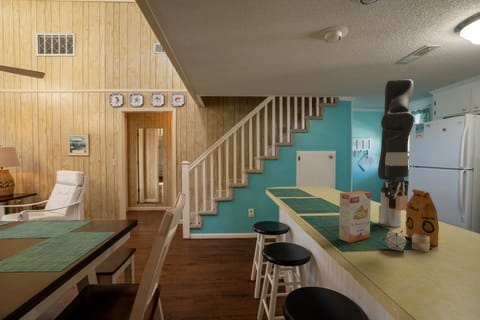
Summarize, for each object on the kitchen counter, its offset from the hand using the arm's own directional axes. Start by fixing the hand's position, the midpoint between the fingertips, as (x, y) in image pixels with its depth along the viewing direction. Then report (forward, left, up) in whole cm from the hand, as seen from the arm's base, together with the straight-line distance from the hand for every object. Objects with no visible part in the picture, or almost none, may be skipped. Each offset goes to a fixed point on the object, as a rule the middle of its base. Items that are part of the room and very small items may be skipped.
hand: (396, 207), depth 93 cm
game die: (0, 0, -17) cm, 17 cm away
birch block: (+4, +11, -17) cm, 21 cm away
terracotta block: (0, 0, 0) cm, 0 cm away
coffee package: (0, +21, -17) cm, 27 cm away
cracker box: (-16, -2, -17) cm, 24 cm away
